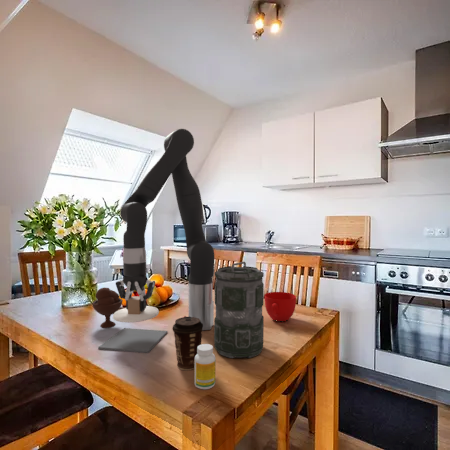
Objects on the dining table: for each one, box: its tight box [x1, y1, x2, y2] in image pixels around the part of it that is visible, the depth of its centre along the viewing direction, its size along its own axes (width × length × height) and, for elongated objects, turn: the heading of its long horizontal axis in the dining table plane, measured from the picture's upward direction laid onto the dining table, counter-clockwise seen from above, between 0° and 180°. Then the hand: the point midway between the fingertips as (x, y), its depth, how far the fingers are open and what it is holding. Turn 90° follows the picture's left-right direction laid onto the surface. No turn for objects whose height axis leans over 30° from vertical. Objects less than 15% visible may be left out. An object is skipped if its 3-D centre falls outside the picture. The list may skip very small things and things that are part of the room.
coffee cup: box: [171, 315, 203, 371], centre depth 87 cm, size 9×8×13 cm
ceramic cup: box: [264, 291, 297, 322], centre depth 124 cm, size 13×17×10 cm
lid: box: [112, 295, 160, 323], centre depth 104 cm, size 15×15×6 cm
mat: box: [97, 327, 168, 354], centre depth 104 cm, size 17×17×1 cm
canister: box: [213, 261, 265, 359], centre depth 97 cm, size 16×16×28 cm
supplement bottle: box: [193, 343, 217, 390], centre depth 77 cm, size 5×5×10 cm
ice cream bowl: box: [91, 287, 124, 329], centre depth 118 cm, size 11×11×15 cm
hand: (136, 310), depth 104 cm, fingers closed on lid, 4 cm apart
